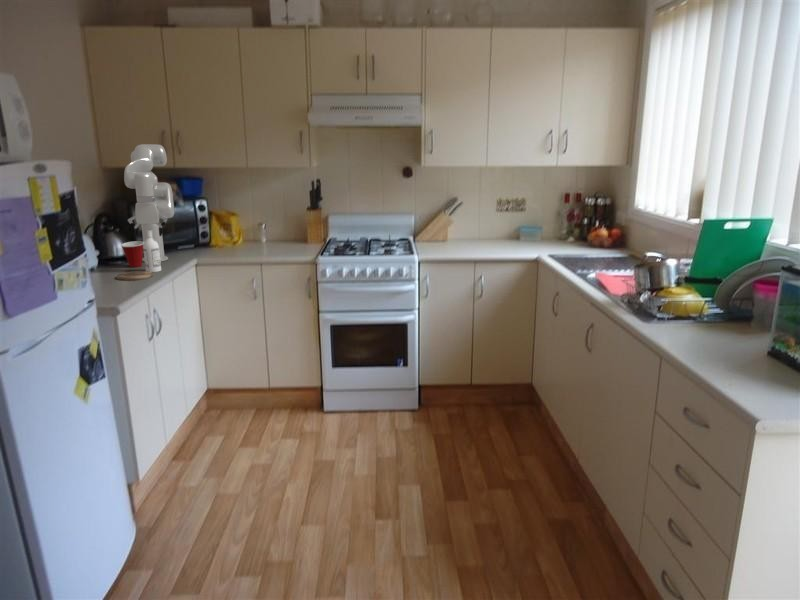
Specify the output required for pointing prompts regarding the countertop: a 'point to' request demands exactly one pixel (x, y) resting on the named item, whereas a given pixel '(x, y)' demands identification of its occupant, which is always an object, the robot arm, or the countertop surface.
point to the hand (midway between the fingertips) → (149, 236)
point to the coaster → (134, 275)
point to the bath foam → (151, 253)
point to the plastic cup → (134, 253)
